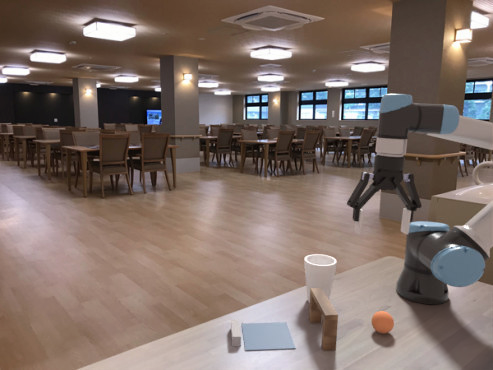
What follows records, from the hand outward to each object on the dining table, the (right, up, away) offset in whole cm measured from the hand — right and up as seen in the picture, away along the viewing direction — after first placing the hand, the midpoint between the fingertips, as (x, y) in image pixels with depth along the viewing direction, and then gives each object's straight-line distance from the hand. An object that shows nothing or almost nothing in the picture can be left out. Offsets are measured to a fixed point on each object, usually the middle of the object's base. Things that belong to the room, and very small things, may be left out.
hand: (381, 232), depth 109 cm
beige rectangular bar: (-39, -25, -8) cm, 47 cm away
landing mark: (-31, -25, -7) cm, 41 cm away
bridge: (-17, -25, -6) cm, 31 cm away
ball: (-1, -22, -5) cm, 23 cm away
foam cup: (-15, -22, +12) cm, 29 cm away
